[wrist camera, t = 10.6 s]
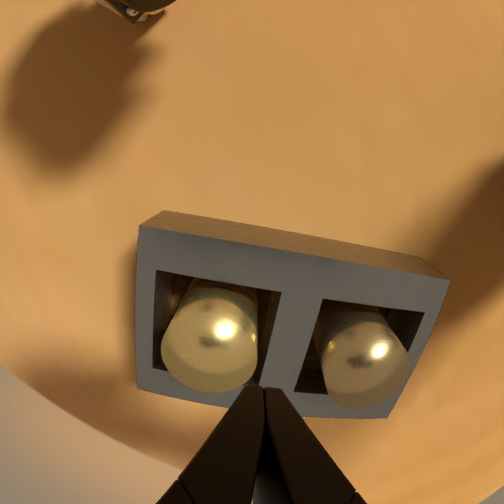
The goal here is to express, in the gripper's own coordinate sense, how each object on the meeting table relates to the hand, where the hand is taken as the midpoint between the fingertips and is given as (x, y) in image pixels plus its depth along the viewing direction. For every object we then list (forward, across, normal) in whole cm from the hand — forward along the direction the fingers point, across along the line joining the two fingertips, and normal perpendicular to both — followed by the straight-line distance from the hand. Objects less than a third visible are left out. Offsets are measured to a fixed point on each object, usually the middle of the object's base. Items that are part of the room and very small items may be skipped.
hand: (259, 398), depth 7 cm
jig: (+12, -2, +4) cm, 13 cm away
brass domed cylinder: (+12, +2, +4) cm, 13 cm away
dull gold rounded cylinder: (+12, -6, +4) cm, 14 cm away
